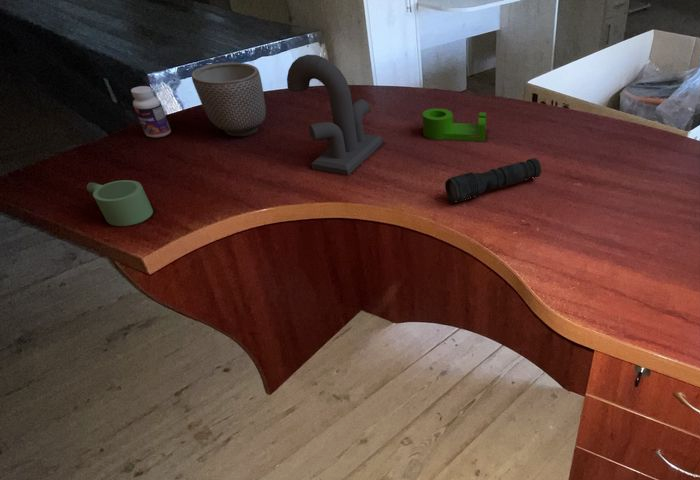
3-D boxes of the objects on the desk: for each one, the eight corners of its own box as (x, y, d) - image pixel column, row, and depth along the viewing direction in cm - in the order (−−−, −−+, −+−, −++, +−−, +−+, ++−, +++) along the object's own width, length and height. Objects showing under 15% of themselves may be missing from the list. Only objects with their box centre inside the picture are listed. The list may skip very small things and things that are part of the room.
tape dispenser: (421, 138, 128) (420, 119, 125) (425, 126, 133) (424, 107, 130) (484, 141, 128) (485, 122, 125) (485, 129, 133) (486, 110, 130)
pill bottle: (140, 136, 122) (121, 91, 115) (156, 127, 126) (138, 83, 119) (161, 139, 121) (143, 94, 115) (176, 130, 125) (160, 86, 118)
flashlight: (444, 197, 108) (443, 173, 105) (527, 174, 117) (529, 152, 113) (457, 208, 105) (456, 184, 102) (541, 183, 114) (543, 161, 111)
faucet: (323, 131, 128) (305, 38, 114) (383, 142, 125) (373, 48, 112) (280, 163, 115) (255, 63, 102) (347, 176, 113) (330, 74, 99)
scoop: (162, 211, 100) (151, 185, 96) (126, 230, 95) (113, 204, 91) (116, 195, 103) (104, 170, 100) (79, 213, 98) (65, 187, 95)
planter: (216, 120, 130) (197, 62, 121) (276, 118, 133) (262, 61, 124) (205, 144, 121) (184, 83, 112) (270, 141, 123) (254, 82, 114)
